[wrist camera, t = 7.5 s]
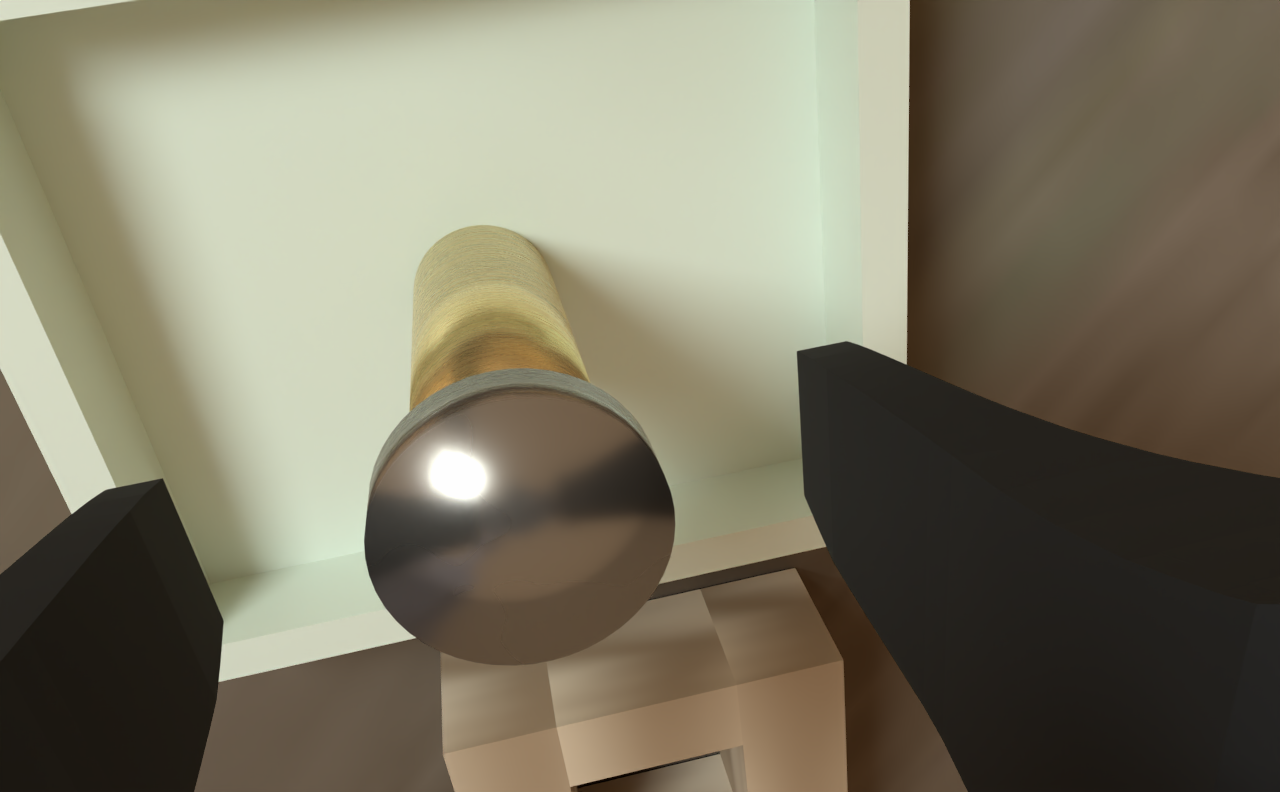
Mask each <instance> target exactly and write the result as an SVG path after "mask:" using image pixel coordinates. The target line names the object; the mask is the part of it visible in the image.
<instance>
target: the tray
mask: <svg viewBox="0 0 1280 792" xmlns="http://www.w3.org/2000/svg"><path fill="white" fill-rule="evenodd" d="M909 32H910V0H0V369H1V371H2V373H3V375H4V377H5V379H6V381H7V383H8V385H9V387H10V389H11V391H12V393H13V395H14V397H15V399H16V401H17V403H18V405H19V407H20V409H21V412H22V414H23V416H24V418H25V420H26V422H27V424H28V426H29V428H30V430H31V432H32V434H33V436H34V438H35V440H36V442H37V444H38V446H39V448H40V450H41V452H42V454H43V456H44V458H45V460H46V462H47V465H48V467H49V469H50V471H51V473H52V475H53V477H54V479H55V481H56V483H57V485H58V487H59V489H60V491H61V493H62V495H63V497H64V499H65V501H66V503H67V505H68V507H69V509H70V511H71V513H72V514H73V513H74V512H75V511H77V510H78V509H79V508H80V507H82V506H83V505H84V504H86V503H87V502H88V501H90V500H91V499H92V498H94V497H95V496H97V495H98V494H100V493H101V492H103V491H104V490H107V489H112V488H117V487H122V486H127V485H132V484H137V483H142V482H147V481H152V480H157V479H162V478H163V480H164V482H165V484H166V487H167V489H168V491H169V494H170V496H171V498H172V501H173V503H174V505H175V508H176V510H177V513H178V515H179V517H180V520H181V522H182V524H183V527H184V529H185V531H186V534H187V536H188V538H189V541H190V543H191V545H192V548H193V550H194V552H195V555H196V557H197V559H198V562H199V564H200V566H201V569H202V571H203V573H204V576H205V578H206V580H207V583H208V585H209V587H210V590H211V592H212V594H213V597H214V599H215V601H216V604H217V606H218V609H219V611H220V613H221V616H222V618H223V620H224V624H223V637H222V650H221V663H220V672H219V681H218V682H220V681H225V680H229V679H234V678H238V677H243V676H247V675H252V674H256V673H261V672H265V671H270V670H274V669H279V668H283V667H288V666H292V665H297V664H301V663H306V662H310V661H315V660H319V659H324V658H328V657H333V656H337V655H342V654H346V653H351V652H355V651H360V650H364V649H369V648H373V647H378V646H382V645H387V644H391V643H396V642H400V641H405V640H409V639H414V638H416V637H414V636H413V635H411V634H410V633H409V632H408V631H406V630H405V629H404V628H403V627H402V626H401V625H400V624H399V623H398V622H397V621H396V620H395V619H394V618H393V617H392V615H391V614H390V613H389V612H388V611H387V609H386V608H385V607H384V605H383V603H382V602H381V600H380V598H379V597H378V595H377V593H376V592H375V589H374V587H373V584H372V582H371V579H370V577H369V573H368V569H367V564H366V560H365V548H364V536H365V525H366V515H367V505H368V495H369V485H370V480H371V476H372V472H373V468H374V465H375V463H376V460H377V458H378V455H379V453H380V451H381V449H382V447H383V445H384V444H385V442H386V440H387V439H388V437H389V435H390V434H391V432H392V431H393V430H394V429H395V428H396V426H397V425H398V424H399V423H400V421H401V420H402V419H403V418H404V417H405V416H406V415H407V414H408V413H409V409H410V379H411V349H412V319H413V289H414V280H415V276H416V272H417V269H418V267H419V264H420V262H421V261H422V259H423V257H424V255H425V254H426V253H427V252H428V250H429V249H430V248H431V247H432V246H433V245H434V244H435V243H436V242H437V241H439V240H440V239H441V238H443V237H444V236H446V235H447V234H449V233H451V232H453V231H456V230H458V229H461V228H465V227H469V226H476V225H491V226H498V227H502V228H506V229H509V230H511V231H513V232H516V233H517V234H519V235H521V236H523V237H524V238H526V239H527V240H528V241H530V242H531V243H532V244H533V245H534V246H535V247H536V248H537V249H538V251H539V252H540V253H541V254H542V256H543V258H544V259H545V261H546V263H547V265H548V268H549V270H550V273H551V275H552V278H553V281H554V284H555V286H556V289H557V292H558V295H559V297H560V300H561V303H562V306H563V308H564V311H565V314H566V317H567V319H568V322H569V325H570V328H571V330H572V333H573V336H574V339H575V341H576V344H577V347H578V350H579V352H580V355H581V358H582V361H583V363H584V366H585V369H586V372H587V374H588V377H589V380H590V383H591V384H593V385H595V386H596V387H598V388H600V389H602V390H604V391H605V392H607V393H608V394H609V395H611V396H612V397H614V398H615V399H616V400H618V401H619V402H620V403H621V404H622V405H623V406H624V407H625V408H626V409H627V410H628V411H629V412H630V413H631V414H632V415H633V416H634V418H635V419H636V420H637V421H638V423H639V424H640V425H641V427H642V429H643V430H644V432H645V434H646V435H647V437H648V439H649V441H650V443H651V445H652V448H653V450H654V452H655V455H656V457H657V459H658V462H659V464H660V466H661V468H662V471H663V473H664V475H665V478H666V480H667V483H668V485H669V488H670V491H671V495H672V499H673V504H674V510H675V536H674V543H673V548H672V552H671V557H670V560H669V562H668V565H667V567H666V570H665V573H664V575H663V577H662V578H661V580H660V582H659V584H661V583H665V582H670V581H674V580H679V579H683V578H688V577H692V576H697V575H701V574H706V573H710V572H715V571H719V570H724V569H728V568H733V567H737V566H742V565H746V564H751V563H755V562H760V561H764V560H769V559H773V558H778V557H782V556H787V555H791V554H796V553H800V552H805V551H809V550H814V549H818V548H823V547H826V545H825V542H824V540H823V538H822V536H821V534H820V531H819V529H818V527H817V524H816V522H815V520H814V517H813V515H812V513H811V510H810V508H809V506H808V503H807V501H806V499H805V496H804V484H803V464H802V445H801V426H800V406H799V387H798V368H797V351H800V350H805V349H810V348H815V347H820V346H825V345H830V344H835V343H840V342H845V341H848V342H852V343H855V344H858V345H861V346H863V347H866V348H868V349H871V350H873V351H876V352H878V353H881V354H883V355H885V356H888V357H890V358H892V359H895V360H897V361H899V362H902V363H904V364H906V365H907V269H908V150H909Z"/></svg>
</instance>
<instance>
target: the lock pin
mask: <svg viewBox="0 0 1280 792" xmlns="http://www.w3.org/2000/svg"><path fill="white" fill-rule="evenodd" d="M674 536H675V510H674V504H673V499H672V495H671V491H670V488H669V485H668V483H667V480H666V478H665V475H664V473H663V471H662V468H661V466H660V464H659V462H658V459H657V457H656V455H655V452H654V450H653V448H652V445H651V443H650V441H649V439H648V437H647V435H646V434H645V432H644V430H643V429H642V427H641V425H640V424H639V423H638V421H637V420H636V419H635V418H634V416H633V415H632V414H631V413H630V412H629V411H628V410H627V409H626V408H625V407H624V406H623V405H622V404H621V403H620V402H619V401H618V400H616V399H615V398H614V397H612V396H611V395H609V394H608V393H607V392H605V391H604V390H602V389H600V388H598V387H596V386H595V385H593V384H591V383H590V380H589V377H588V374H587V372H586V369H585V366H584V363H583V361H582V358H581V355H580V352H579V350H578V347H577V344H576V341H575V339H574V336H573V333H572V330H571V328H570V325H569V322H568V319H567V317H566V314H565V311H564V308H563V306H562V303H561V300H560V297H559V295H558V292H557V289H556V286H555V284H554V281H553V278H552V275H551V273H550V270H549V268H548V265H547V263H546V261H545V259H544V258H543V256H542V254H541V253H540V252H539V251H538V249H537V248H536V247H535V246H534V245H533V244H532V243H531V242H530V241H528V240H527V239H526V238H524V237H523V236H521V235H519V234H517V233H516V232H513V231H511V230H509V229H506V228H502V227H498V226H491V225H476V226H469V227H465V228H461V229H458V230H456V231H453V232H451V233H449V234H447V235H446V236H444V237H443V238H441V239H440V240H439V241H437V242H436V243H435V244H434V245H433V246H432V247H431V248H430V249H429V250H428V252H427V253H426V254H425V255H424V257H423V259H422V261H421V262H420V264H419V267H418V269H417V272H416V276H415V280H414V289H413V319H412V349H411V379H410V409H409V413H408V414H407V415H406V416H405V417H404V418H403V419H402V420H401V421H400V423H399V424H398V425H397V426H396V428H395V429H394V430H393V431H392V432H391V434H390V435H389V437H388V439H387V440H386V442H385V444H384V445H383V447H382V449H381V451H380V453H379V455H378V458H377V460H376V463H375V465H374V468H373V472H372V476H371V480H370V485H369V495H368V505H367V515H366V525H365V536H364V548H365V560H366V564H367V569H368V573H369V577H370V579H371V582H372V584H373V587H374V589H375V592H376V593H377V595H378V597H379V598H380V600H381V602H382V603H383V605H384V607H385V608H386V609H387V611H388V612H389V613H390V614H391V615H392V617H393V618H394V619H395V620H396V621H397V622H398V623H399V624H400V625H401V626H402V627H403V628H404V629H405V630H406V631H408V632H409V633H410V634H411V635H413V636H414V637H416V638H417V639H419V640H420V641H421V642H423V643H425V644H426V645H428V646H430V647H432V648H434V649H436V650H438V651H440V652H442V653H445V654H448V655H450V656H453V657H456V658H459V659H463V660H467V661H471V662H475V663H482V664H489V665H507V666H516V665H528V664H536V663H542V662H547V661H552V660H555V659H559V658H562V657H566V656H569V655H572V654H574V653H577V652H579V651H581V650H584V649H586V648H588V647H590V646H592V645H594V644H596V643H598V642H600V641H601V640H603V639H605V638H606V637H608V636H609V635H611V634H612V633H614V632H615V631H617V630H618V629H619V628H621V627H622V626H623V625H624V624H625V623H626V622H628V621H629V620H630V619H631V618H632V617H633V616H634V615H635V614H636V613H637V612H638V611H639V610H640V609H641V608H642V607H643V605H644V604H645V603H646V602H647V601H648V599H649V598H650V596H651V595H652V594H653V592H654V591H655V589H656V588H657V586H658V584H659V582H660V580H661V578H662V577H663V575H664V573H665V570H666V567H667V565H668V562H669V560H670V557H671V552H672V548H673V543H674Z"/></svg>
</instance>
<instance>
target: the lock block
mask: <svg viewBox="0 0 1280 792" xmlns="http://www.w3.org/2000/svg"><path fill="white" fill-rule="evenodd" d="M440 653H441V693H442V732H443V756H444V759H445V762H446V765H447V768H448V772H449V775H450V778H451V781H452V784H453V788H454V791H455V792H848V790H847V758H846V726H845V694H844V662H843V658H842V656H841V654H840V652H839V651H838V649H837V647H836V645H835V643H834V641H833V639H832V637H831V635H830V633H829V632H828V630H827V628H826V626H825V624H824V622H823V620H822V618H821V616H820V614H819V612H818V611H817V609H816V607H815V605H814V603H813V601H812V599H811V597H810V595H809V593H808V591H807V590H806V588H805V586H804V584H803V582H802V580H801V578H800V576H799V574H798V572H797V570H796V569H795V568H792V569H788V570H783V571H779V572H774V573H770V574H765V575H761V576H756V577H752V578H747V579H743V580H739V581H734V582H730V583H725V584H721V585H716V586H712V587H707V588H703V589H698V590H694V591H689V592H685V593H681V594H676V595H672V596H667V597H663V598H658V599H654V600H649V601H647V602H646V603H645V604H644V605H643V607H642V608H641V609H640V610H639V611H638V612H637V613H636V614H635V615H634V616H633V617H632V618H631V619H630V620H629V621H628V622H626V623H625V624H624V625H623V626H622V627H621V628H619V629H618V630H617V631H615V632H614V633H612V634H611V635H609V636H608V637H606V638H605V639H603V640H601V641H600V642H598V643H596V644H594V645H592V646H590V647H588V648H586V649H584V650H581V651H579V652H577V653H574V654H572V655H569V656H566V657H562V658H559V659H555V660H552V661H547V662H542V663H536V664H528V665H516V666H507V665H489V664H482V663H475V662H471V661H467V660H463V659H459V658H456V657H453V656H450V655H448V654H445V653H442V652H440ZM717 751H720V754H717V755H713V756H709V757H705V758H701V759H697V760H693V761H688V762H684V763H680V764H676V765H672V766H668V767H664V768H660V769H655V770H651V771H647V772H643V773H639V774H635V775H631V776H627V777H622V778H618V779H614V780H610V781H606V782H602V783H598V784H593V785H589V786H585V787H581V788H577V785H581V784H585V783H589V782H593V781H597V780H601V779H605V778H609V777H614V776H618V775H622V774H626V773H630V772H634V771H638V770H643V769H647V768H651V767H655V766H659V765H663V764H667V763H671V762H676V761H680V760H684V759H688V758H692V757H696V756H700V755H705V754H709V753H713V752H717Z"/></svg>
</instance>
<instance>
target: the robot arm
mask: <svg viewBox="0 0 1280 792" xmlns="http://www.w3.org/2000/svg"><path fill="white" fill-rule="evenodd" d="M797 368H798V387H799V406H800V426H801V445H802V464H803V484H804V496H805V499H806V501H807V503H808V506H809V508H810V510H811V513H812V515H813V517H814V520H815V522H816V524H817V527H818V529H819V531H820V534H821V536H822V538H823V540H824V542H825V545H826V547H827V549H828V551H829V553H830V555H831V558H832V560H833V562H834V564H835V565H836V567H837V569H838V570H839V572H840V574H841V575H842V577H843V579H844V580H845V582H846V583H847V585H848V587H849V588H850V590H851V592H852V593H853V595H854V596H855V598H856V600H857V601H858V603H859V604H860V606H861V608H862V609H863V611H864V613H865V614H866V616H867V617H868V619H869V620H870V622H871V624H872V625H873V627H874V628H875V630H876V632H877V633H878V635H879V636H880V638H881V639H882V641H883V643H884V644H885V646H886V647H887V649H888V651H889V652H890V654H891V655H892V657H893V658H894V660H895V662H896V663H897V665H898V666H899V668H900V670H901V671H902V673H903V674H904V676H905V677H906V679H907V681H908V682H909V684H910V685H911V687H912V689H913V690H914V692H915V693H916V695H917V696H918V698H919V700H920V701H921V703H922V704H923V706H924V708H925V710H926V711H927V713H928V715H929V717H930V718H931V720H932V722H933V724H934V725H935V727H936V729H937V731H938V732H939V734H940V736H941V738H942V740H943V741H944V743H945V746H946V748H947V750H948V752H949V754H950V756H951V758H952V760H953V762H954V764H955V766H956V768H957V770H958V772H959V774H960V776H961V778H962V780H963V782H964V785H965V787H966V789H967V791H968V792H1280V478H1275V477H1269V476H1263V475H1257V474H1252V473H1246V472H1241V471H1236V470H1231V469H1226V468H1221V467H1215V466H1210V465H1205V464H1200V463H1195V462H1190V461H1186V460H1181V459H1177V458H1172V457H1168V456H1164V455H1159V454H1155V453H1151V452H1148V451H1144V450H1140V449H1137V448H1133V447H1129V446H1126V445H1122V444H1118V443H1115V442H1111V441H1107V440H1104V439H1100V438H1096V437H1093V436H1090V435H1086V434H1083V433H1080V432H1077V431H1074V430H1070V429H1067V428H1064V427H1061V426H1058V425H1056V424H1053V423H1050V422H1047V421H1044V420H1042V419H1039V418H1036V417H1033V416H1030V415H1028V414H1025V413H1022V412H1019V411H1016V410H1014V409H1011V408H1008V407H1006V406H1003V405H1001V404H998V403H996V402H993V401H991V400H988V399H986V398H983V397H981V396H978V395H976V394H973V393H971V392H968V391H966V390H964V389H961V388H959V387H957V386H954V385H952V384H950V383H947V382H945V381H943V380H940V379H938V378H936V377H933V376H931V375H929V374H927V373H924V372H922V371H920V370H917V369H915V368H913V367H911V366H908V365H906V364H904V363H902V362H899V361H897V360H895V359H892V358H890V357H888V356H885V355H883V354H881V353H878V352H876V351H873V350H871V349H868V348H866V347H863V346H861V345H858V344H855V343H852V342H848V341H845V342H840V343H835V344H830V345H825V346H820V347H815V348H810V349H805V350H800V351H797ZM223 624H224V620H223V618H222V616H221V613H220V611H219V609H218V606H217V604H216V601H215V599H214V597H213V594H212V592H211V590H210V587H209V585H208V583H207V580H206V578H205V576H204V573H203V571H202V569H201V566H200V564H199V562H198V559H197V557H196V555H195V552H194V550H193V548H192V545H191V543H190V541H189V538H188V536H187V534H186V531H185V529H184V527H183V524H182V522H181V520H180V517H179V515H178V513H177V510H176V508H175V505H174V503H173V501H172V498H171V496H170V494H169V491H168V489H167V487H166V484H165V482H164V480H163V478H162V479H157V480H152V481H147V482H142V483H137V484H132V485H127V486H122V487H117V488H112V489H107V490H104V491H103V492H101V493H100V494H98V495H97V496H95V497H94V498H92V499H91V500H90V501H88V502H87V503H86V504H84V505H83V506H82V507H80V508H79V509H78V510H77V511H75V512H74V513H73V514H71V515H70V516H69V517H68V518H67V519H65V520H64V521H63V522H62V523H61V524H59V525H58V526H57V527H56V528H55V529H53V530H52V531H51V532H50V533H49V534H47V535H46V536H45V537H44V538H43V539H42V540H40V541H39V542H38V543H37V544H36V545H35V546H33V547H32V548H31V549H30V550H29V551H28V552H26V553H25V554H24V555H23V556H22V557H20V558H19V559H18V560H17V561H16V562H15V563H13V564H12V565H11V566H10V567H9V568H8V569H6V570H5V571H4V572H3V573H2V574H1V575H0V792H194V790H195V786H196V782H197V778H198V774H199V770H200V766H201V762H202V758H203V754H204V750H205V746H206V742H207V738H208V734H209V730H210V726H211V721H212V717H213V713H214V708H215V704H216V699H217V690H218V681H219V672H220V663H221V650H222V637H223Z"/></svg>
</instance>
